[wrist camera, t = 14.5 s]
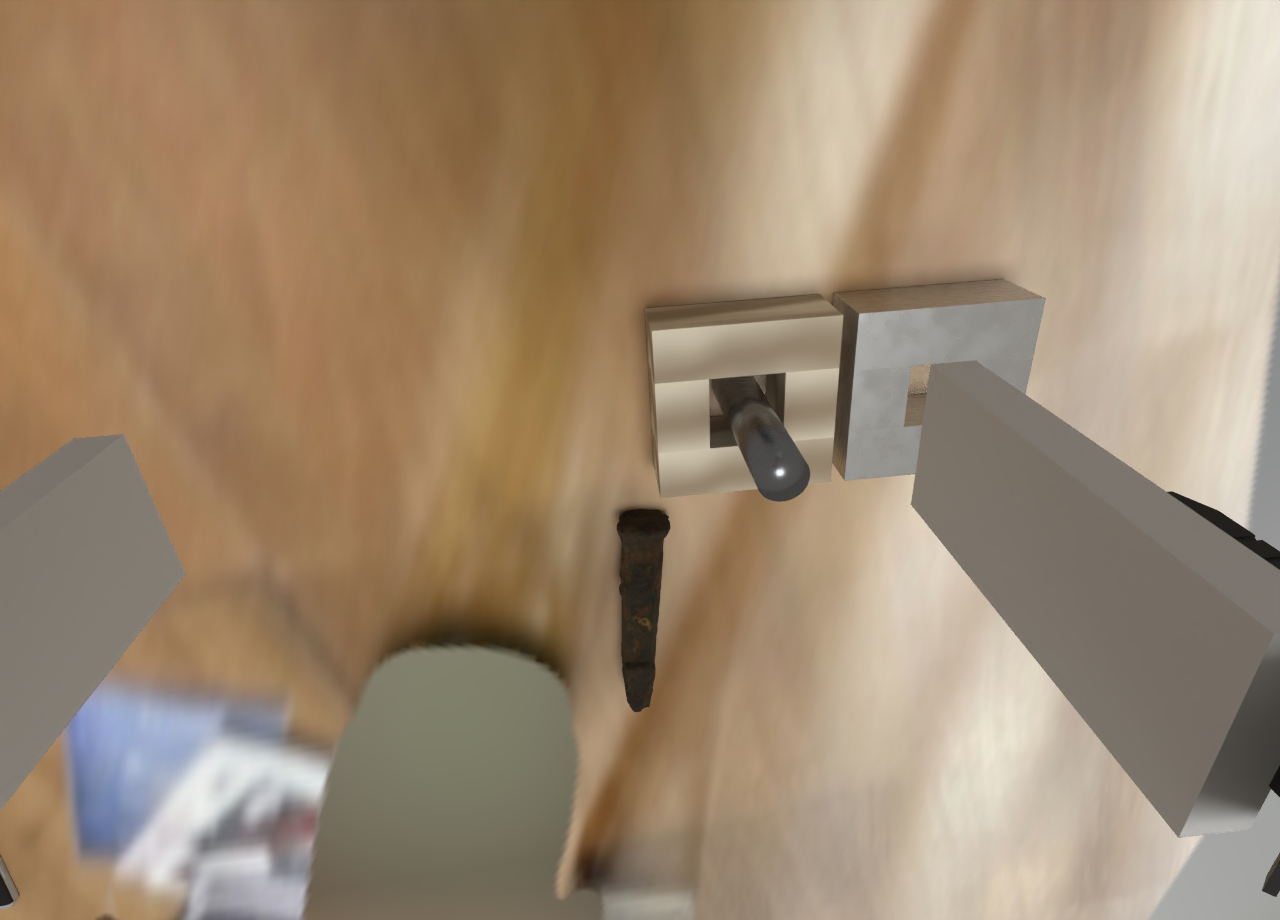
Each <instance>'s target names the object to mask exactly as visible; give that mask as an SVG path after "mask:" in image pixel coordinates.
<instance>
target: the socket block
mask: <svg viewBox="0 0 1280 920" xmlns="http://www.w3.org/2000/svg"><path fill="white" fill-rule="evenodd" d="M1045 299H1046V298H1044V297H1042V296H1039V295H1037V294H1035V293H1033V292H1031V291H1028V290H1026V289H1024V288H1022V287H1020V286H1017V285H1015V284H1013V283H1011V282H1009V281H1007V280H1004V279H999V280H986V281H974V282H962V283H950V284H937V285H925V286H913V287H901V288H888V289H876V290H864V291H851V292H839V293H833V305H832V306H833V307H835V308H836V309H837V310H838V311H839V312H840V313H842V314H843V327H842V340H841V353H840V366H839V379H838V392H837V405H836V418H835V431H834V444H833V457H832V463H833V464H834V466H835V467H836V469H837V470H838V472H839V473H840V475H841V476H842V478H843V479H844V481H846V480H857V479H867V478H878V477H889V476H899V475H910V474H916V467H917V459H918V452H919V445H920V438H921V431H922V424H923V417H924V410H925V403H926V395H927V394H920V395H909V396H908V389H909V381H910V373H911V366H918V365H929V364H939V363H951V362H962V361H974V360H976V361H977V362H979V363H980V364H981V365H983V366H984V367H986V368H987V369H989V370H990V371H992V372H993V373H994V374H996V375H997V376H999V377H1000V378H1002V379H1003V380H1005V381H1006V382H1008V383H1009V384H1010V385H1012V386H1013V387H1015V388H1016V389H1018V390H1019V391H1021V392H1022V393H1024V394H1025V393H1026V389H1027V384H1028V379H1029V374H1030V370H1031V365H1032V360H1033V355H1034V351H1035V346H1036V341H1037V337H1038V332H1039V327H1040V322H1041V318H1042V313H1043V308H1044V303H1045Z"/></svg>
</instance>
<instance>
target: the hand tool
mask: <svg viewBox="0 0 1280 920" xmlns="http://www.w3.org/2000/svg"><path fill="white" fill-rule="evenodd" d="M668 518H669V517H668V516H667V515H666V514H663V513H662V512H660V511H659V510H632V511H627V512H624V513H623V514H621V515H620V517H619V523H618V524H617V531H618V534H619V536H620V539H621V541H622V543H623V548H622V557H621V571H620V577H621V584H620V586H619V591H620V595H621V596H622V663H623V667H622V671H623V677H624V683H625V690H626V696H627V702H628V703H629V705H630V707H631V708H632V710H633V711H634V712H640V711H641V710H642V709H643V708H646V707H649V705H650V700H651V695H652V691H653V688H652V687H653V683H654V679H655V662H654V661H655V651H656V634H657V624H658V617H659V603H660V589H661V578H662V562H663V540H664V538H665V537H666V536H667V534H668V532H669V530H670V522H669V520H668Z"/></svg>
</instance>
